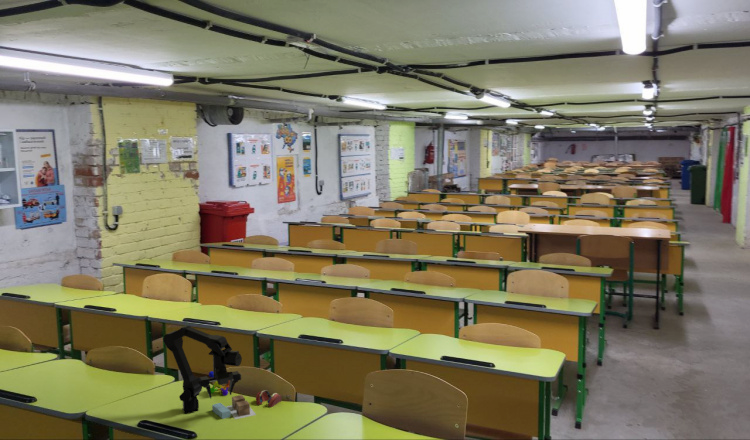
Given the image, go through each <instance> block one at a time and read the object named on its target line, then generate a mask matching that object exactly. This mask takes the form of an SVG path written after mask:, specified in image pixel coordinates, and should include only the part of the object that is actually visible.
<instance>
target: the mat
mask: <svg viewBox="0 0 750 440" xmlns="http://www.w3.org/2000/svg"><path fill="white" fill-rule="evenodd" d="M225 407H226V408H228V409H229V410H230V411H231V416H232V417H233V419H234V420H239V419H243V418H249V417H253V416H257V414H256V412H255V411H254V410H253V409H252V407H250V414H249V415H244V416H240V417H239V415H238V414H237V412H236V410H234V409H233V407H232V404H230V405H227V406H225Z"/></svg>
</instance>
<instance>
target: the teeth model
mask: <svg viewBox="0 0 750 440" xmlns="http://www.w3.org/2000/svg"><path fill="white" fill-rule="evenodd" d="M282 397H283V396H282V395H280V394H279V393H277V392H274V393H273V394H272V395H271V394H270V392H269V391H268V390H266V389H265V390H261V391H259V392H257V393H256V395H255V403H256V405H257V406H261V405H262V404H263V403H264V402H266V401H267V405H268V407H269V408H272V407H275V406H276V405H277V404H279V403H280V402H282Z"/></svg>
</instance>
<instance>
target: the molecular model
mask: <svg viewBox="0 0 750 440" xmlns="http://www.w3.org/2000/svg"><path fill="white" fill-rule="evenodd" d="M213 374H214V373H213V371H209V372H208V376H209V377H208V378H214V376H213ZM210 390H211V394H214V393H215V392H218V391H220V392H221V393H222V395H223V396H225V397H226V396H228V394H229V391H228V390H229V383H228V384H224V386H223V384H222V385H219V384H218V382H217V381H215V382H213V385H212V387H210Z"/></svg>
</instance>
